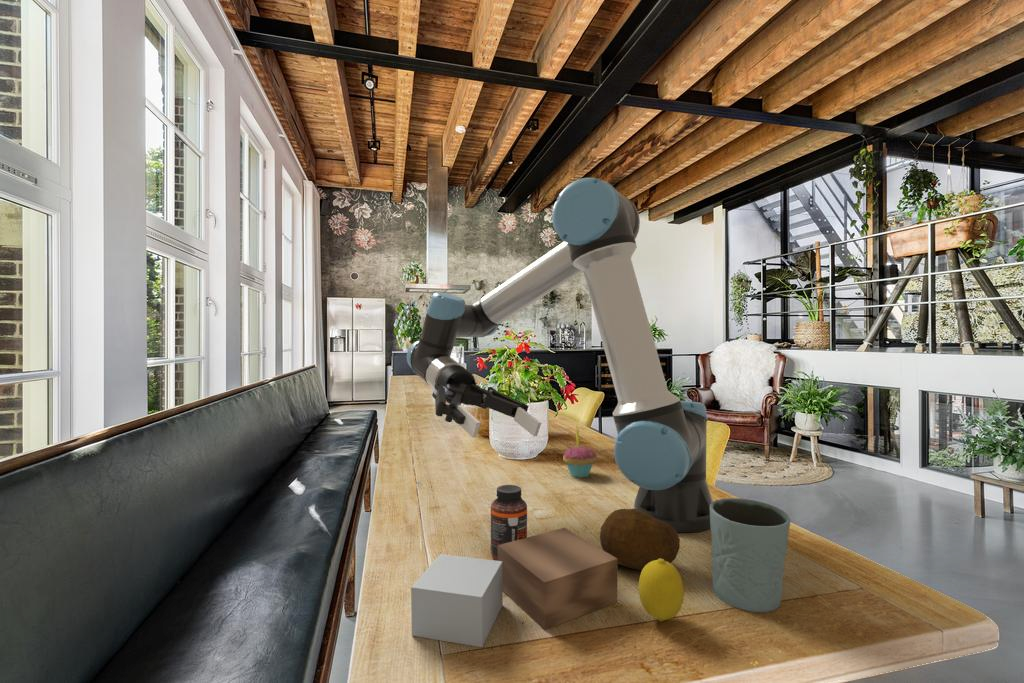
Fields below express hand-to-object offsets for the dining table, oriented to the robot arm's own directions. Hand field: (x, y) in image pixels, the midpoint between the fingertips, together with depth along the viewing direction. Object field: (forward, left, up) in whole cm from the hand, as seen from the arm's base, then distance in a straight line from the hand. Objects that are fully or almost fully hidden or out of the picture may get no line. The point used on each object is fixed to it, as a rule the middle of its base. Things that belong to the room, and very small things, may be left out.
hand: (508, 430), depth 86 cm
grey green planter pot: (-37, +9, -20) cm, 42 cm away
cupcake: (-8, -41, -20) cm, 46 cm away
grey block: (0, +24, -20) cm, 31 cm away
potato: (-22, +4, -20) cm, 30 cm away
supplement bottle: (-1, +6, -20) cm, 21 cm away
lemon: (-25, +18, -20) cm, 36 cm away
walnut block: (-11, +15, -20) cm, 27 cm away
